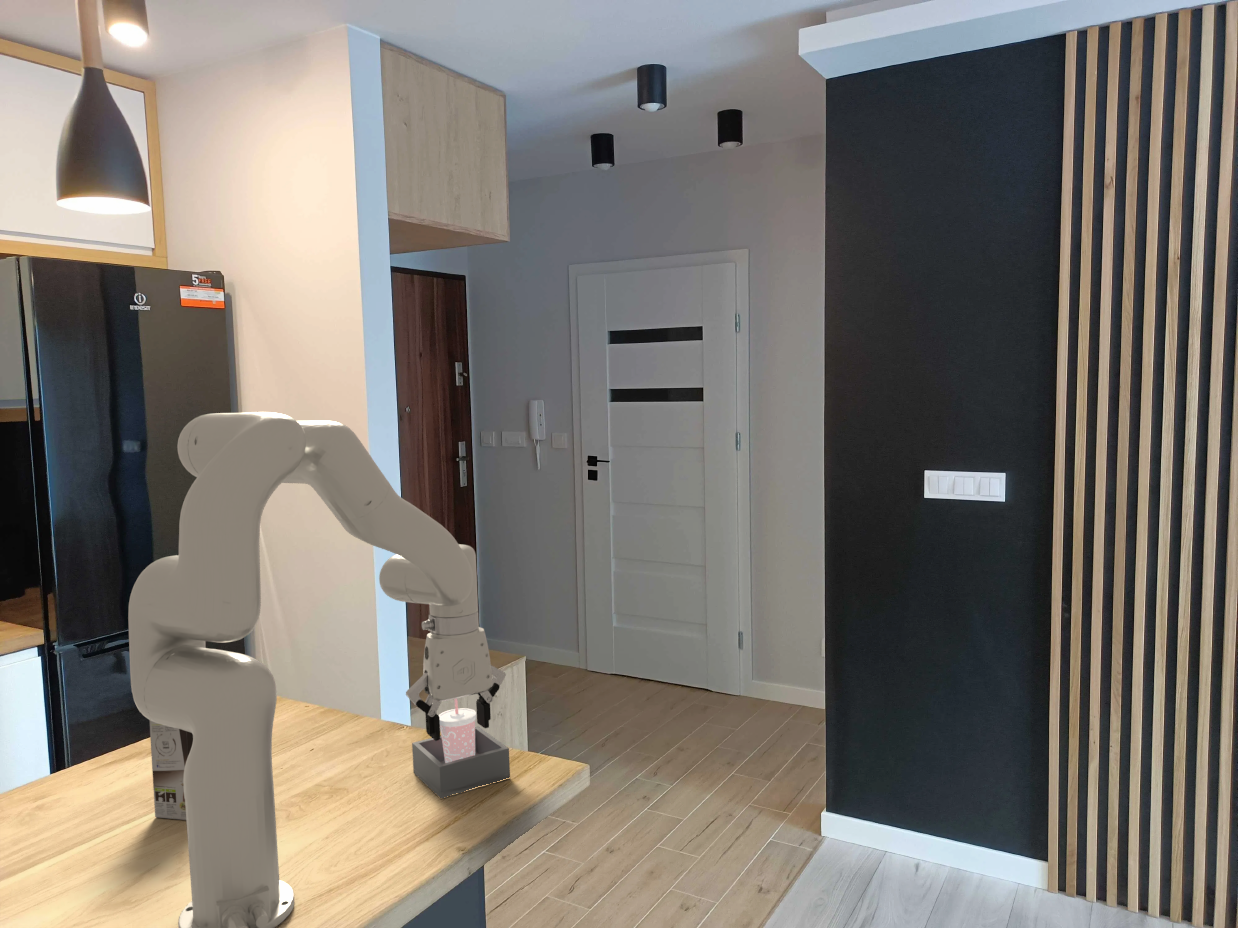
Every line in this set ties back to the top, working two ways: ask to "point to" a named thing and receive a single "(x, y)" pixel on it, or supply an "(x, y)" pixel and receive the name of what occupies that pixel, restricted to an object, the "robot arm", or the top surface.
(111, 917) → the top surface
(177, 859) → the top surface
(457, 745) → the beverage cup
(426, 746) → the crate
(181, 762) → the coffee box
